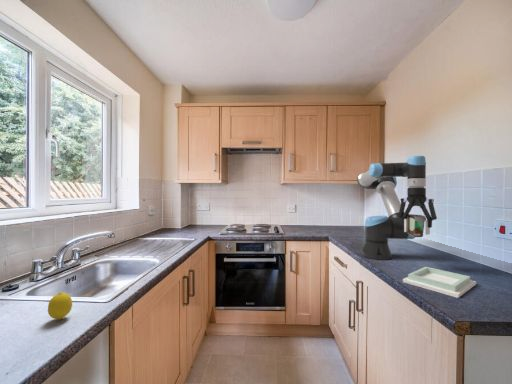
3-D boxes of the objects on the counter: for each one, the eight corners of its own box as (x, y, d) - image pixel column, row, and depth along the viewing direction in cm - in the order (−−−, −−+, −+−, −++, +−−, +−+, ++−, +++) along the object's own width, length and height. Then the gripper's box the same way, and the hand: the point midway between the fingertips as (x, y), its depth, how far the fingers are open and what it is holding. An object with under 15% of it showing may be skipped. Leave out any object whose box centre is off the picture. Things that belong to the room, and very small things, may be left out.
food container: (430, 238, 109) (430, 217, 109) (415, 237, 111) (415, 216, 111) (420, 233, 121) (420, 214, 121) (406, 233, 123) (407, 214, 123)
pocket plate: (402, 281, 97) (402, 274, 97) (424, 272, 109) (424, 265, 109) (458, 297, 82) (458, 288, 82) (476, 284, 94) (475, 276, 94)
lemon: (55, 326, 66) (55, 297, 66) (43, 322, 68) (43, 294, 68) (76, 316, 71) (76, 290, 71) (64, 313, 73) (64, 287, 73)
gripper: (390, 187, 123) (390, 230, 123) (439, 186, 105) (439, 237, 106) (397, 187, 127) (397, 229, 127) (445, 186, 110) (446, 235, 110)
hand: (416, 232), depth 116 cm, fingers closed on food container, 9 cm apart
